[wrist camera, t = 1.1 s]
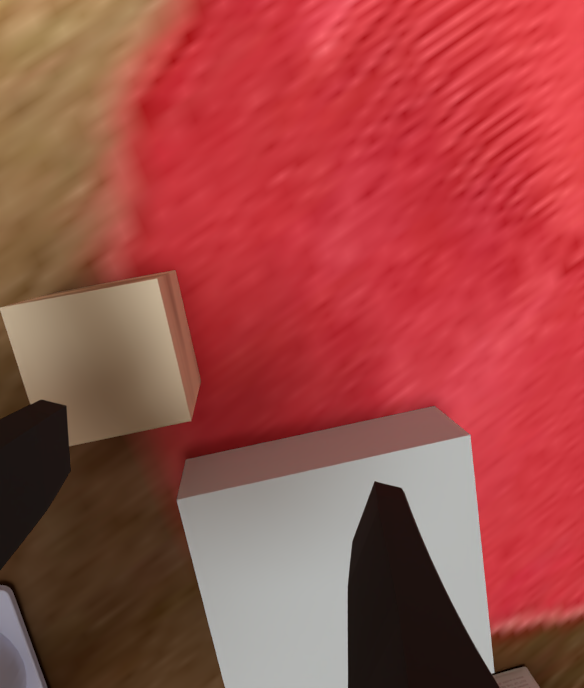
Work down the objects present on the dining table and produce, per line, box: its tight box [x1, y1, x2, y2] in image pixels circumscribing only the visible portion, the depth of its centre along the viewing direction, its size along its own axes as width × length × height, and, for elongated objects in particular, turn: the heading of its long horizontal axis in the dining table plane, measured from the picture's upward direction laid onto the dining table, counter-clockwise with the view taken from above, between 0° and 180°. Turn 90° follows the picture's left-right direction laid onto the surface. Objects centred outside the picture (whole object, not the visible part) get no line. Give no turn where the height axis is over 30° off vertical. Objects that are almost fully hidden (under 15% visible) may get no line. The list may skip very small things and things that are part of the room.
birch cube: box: [0, 270, 201, 446], centre depth 18 cm, size 5×5×5 cm
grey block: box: [177, 406, 494, 688], centre depth 22 cm, size 12×12×4 cm
